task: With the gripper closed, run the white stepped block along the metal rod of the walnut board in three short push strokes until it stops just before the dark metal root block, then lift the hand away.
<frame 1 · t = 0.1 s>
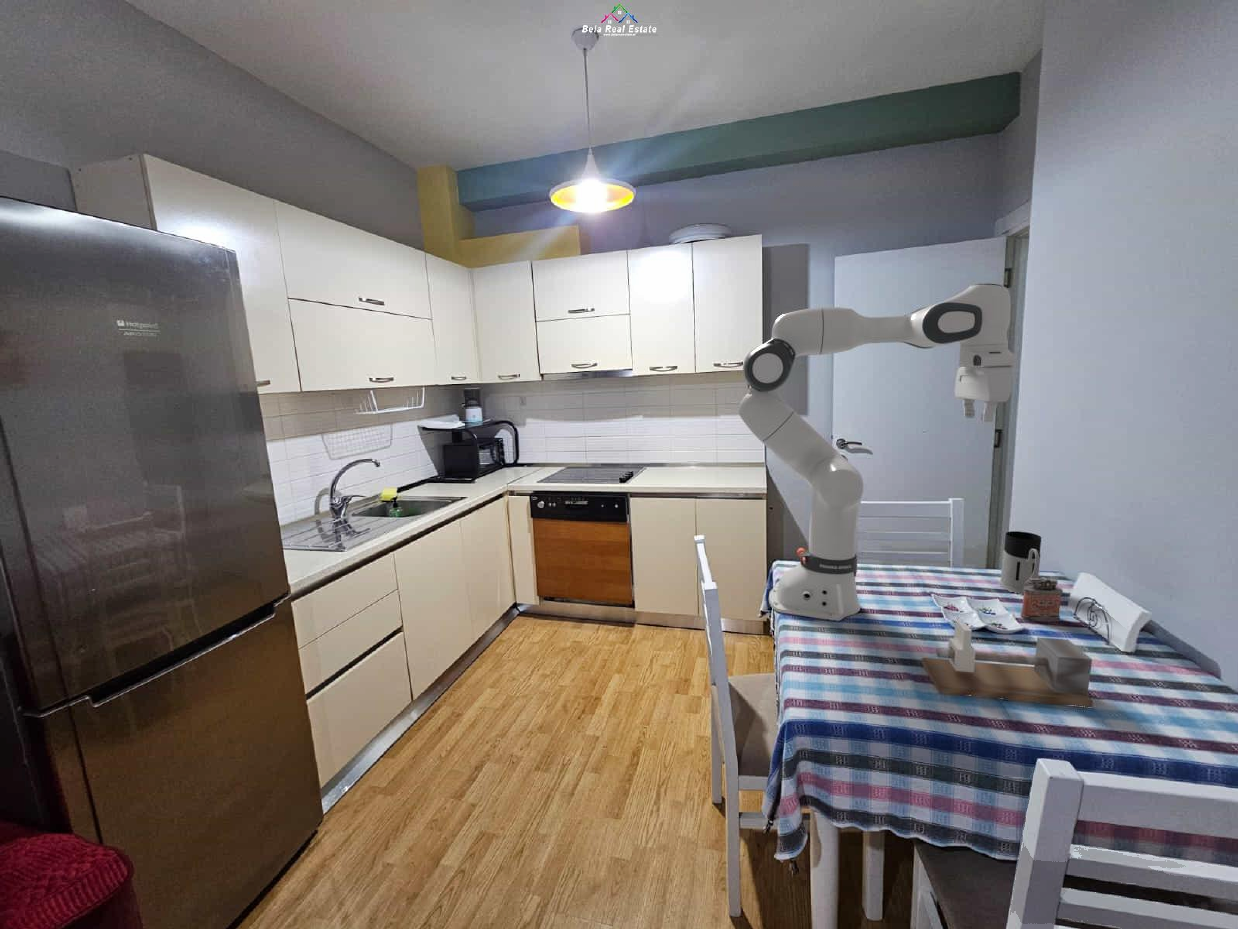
hand: (977, 419, 118), 48 cm above the table, tool pointing down, fingers open, 8 cm apart
rod board: (1000, 684, 98), on the table
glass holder: (1022, 593, 136), on the table
lighter: (1039, 618, 122), on the table
white stepped block: (961, 645, 98), point 8 cm above the table, slide at 0.0 cm
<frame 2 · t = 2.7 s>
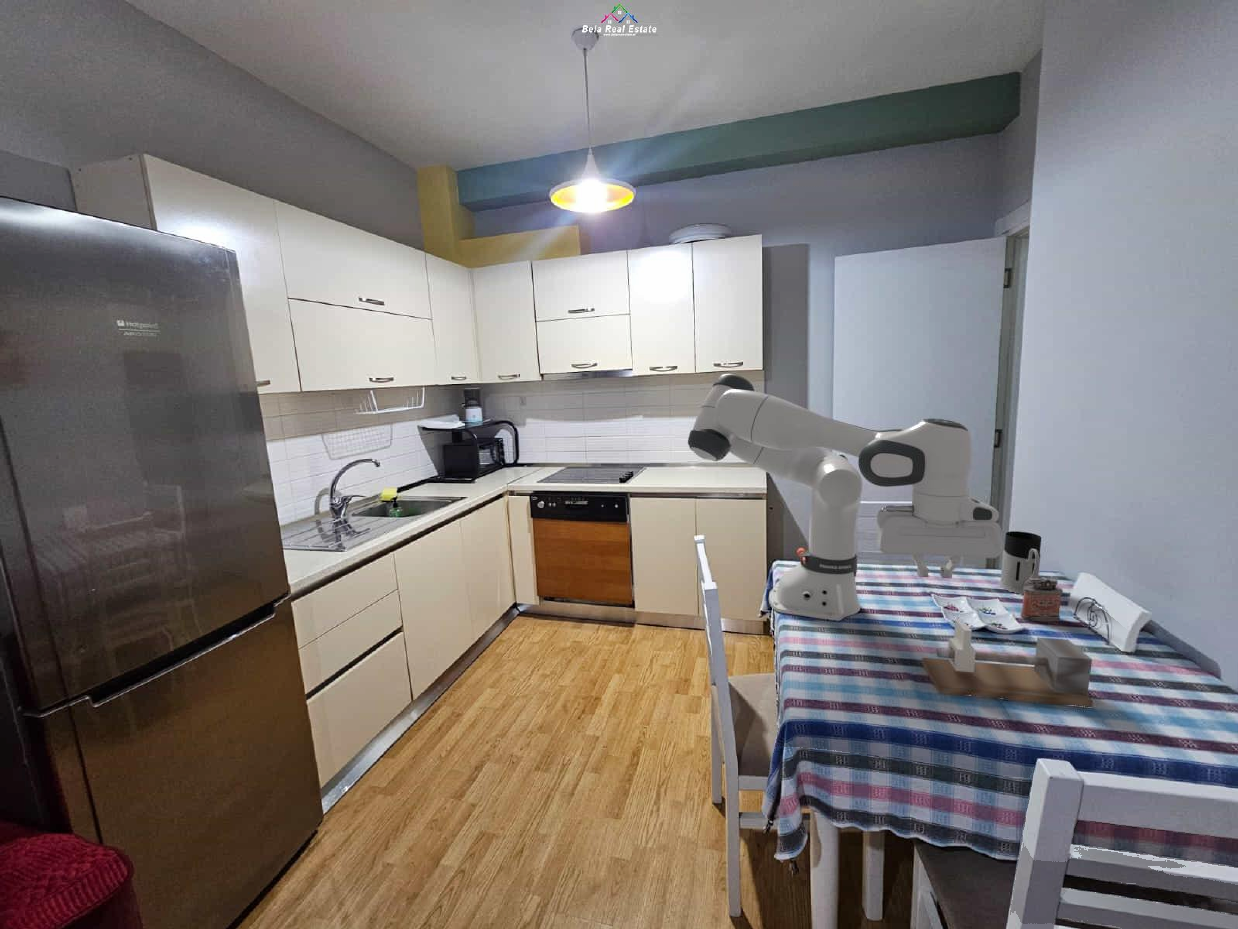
hand: (934, 576, 97), 21 cm above the table, tool pointing down, fingers open, 3 cm apart
nothing on the table moved.
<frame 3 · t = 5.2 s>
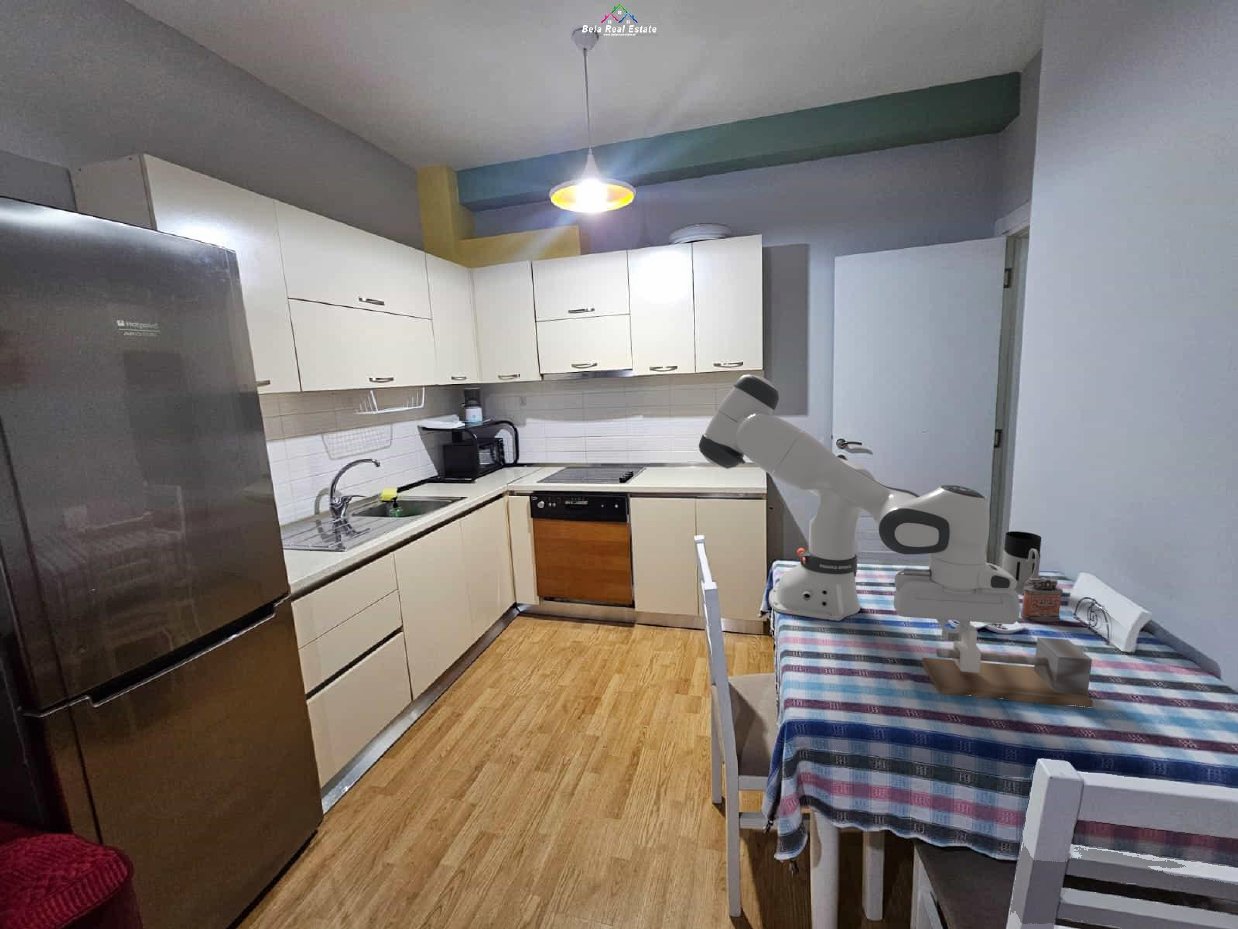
hand: (951, 639, 98), 9 cm above the table, tool pointing down, fingers closed
white stepped block: (967, 645, 98), point 8 cm above the table, slide at 0.9 cm, touching gripper
everything else where it was.
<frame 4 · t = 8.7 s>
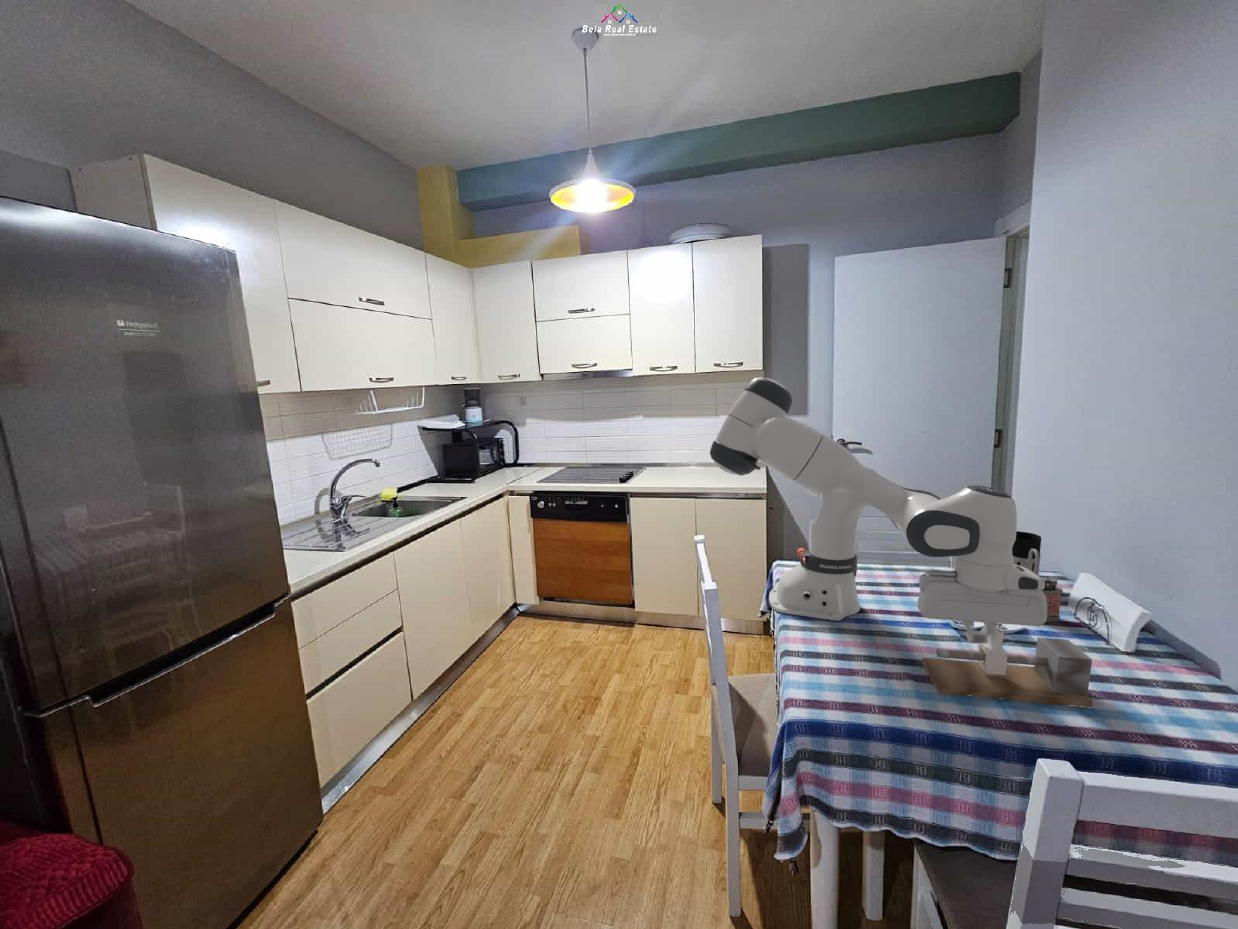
hand: (976, 641, 97), 9 cm above the table, tool pointing down, fingers closed
white stepped block: (992, 647, 97), point 8 cm above the table, slide at 5.2 cm, touching gripper
everything else where it was.
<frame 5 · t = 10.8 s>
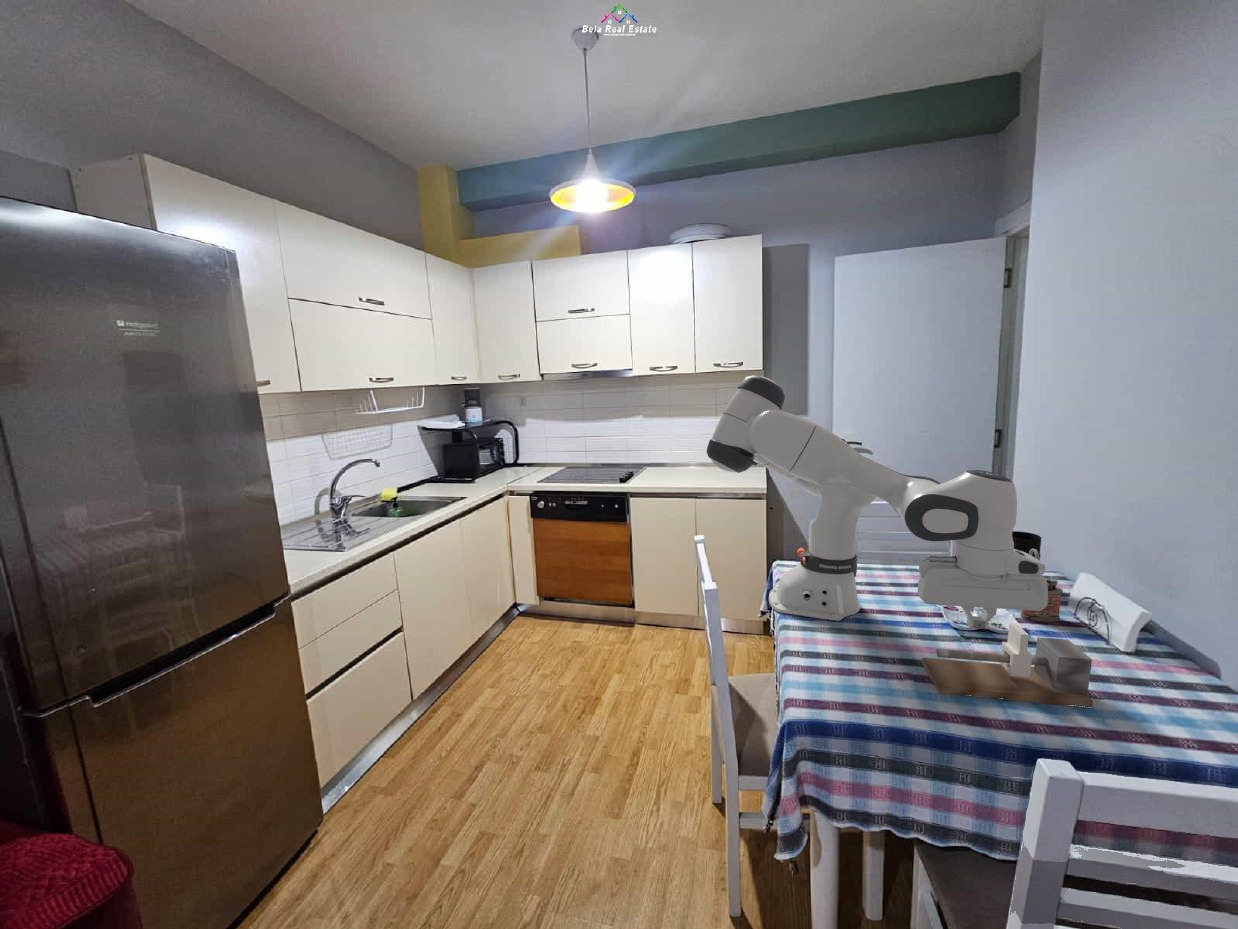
hand: (977, 627, 97), 12 cm above the table, tool pointing down, fingers closed
white stepped block: (1016, 649, 96), point 8 cm above the table, slide at 9.1 cm
everything else where it was.
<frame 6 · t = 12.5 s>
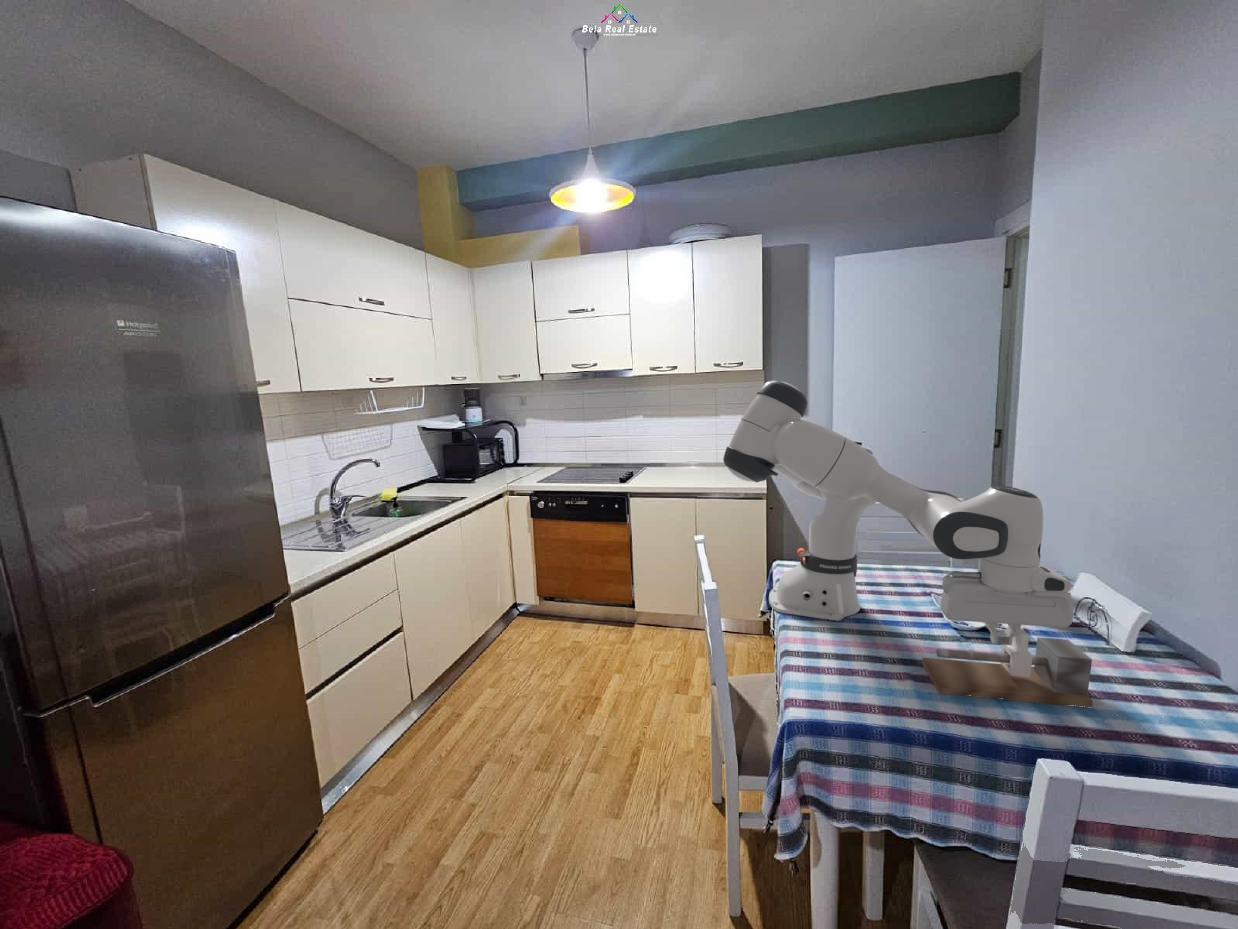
hand: (1000, 643, 96), 9 cm above the table, tool pointing down, fingers closed
white stepped block: (1016, 649, 96), point 8 cm above the table, slide at 9.2 cm, touching gripper
everything else where it was.
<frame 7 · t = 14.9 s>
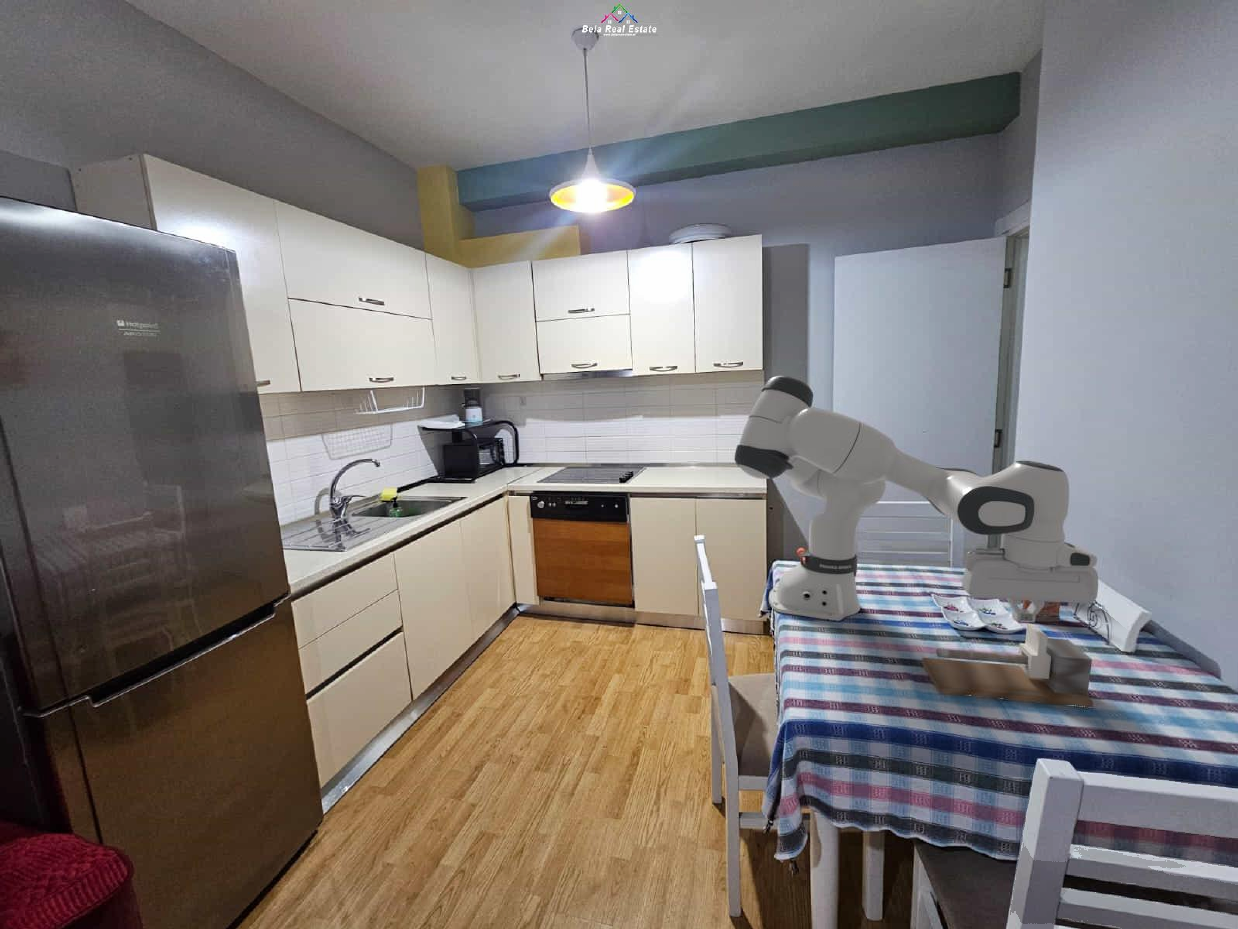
hand: (1023, 620, 95), 13 cm above the table, tool pointing down, fingers closed
white stepped block: (1034, 650, 95), point 8 cm above the table, slide at 12.1 cm
everything else where it was.
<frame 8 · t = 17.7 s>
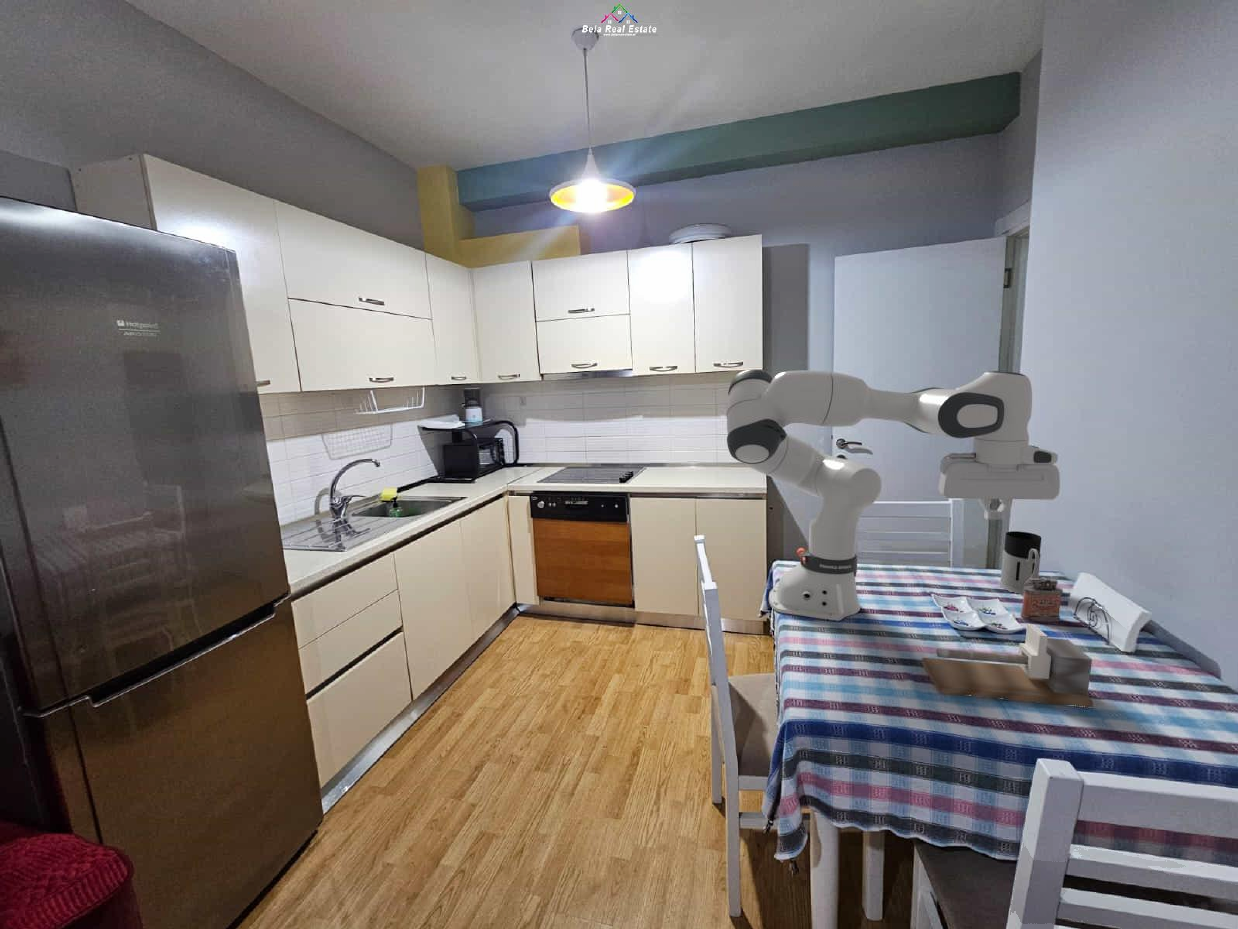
hand: (993, 519, 105), 29 cm above the table, tool pointing down, fingers closed
nothing on the table moved.
at the end: white stepped block slide at 12.1 cm; the gripper is holding nothing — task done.
